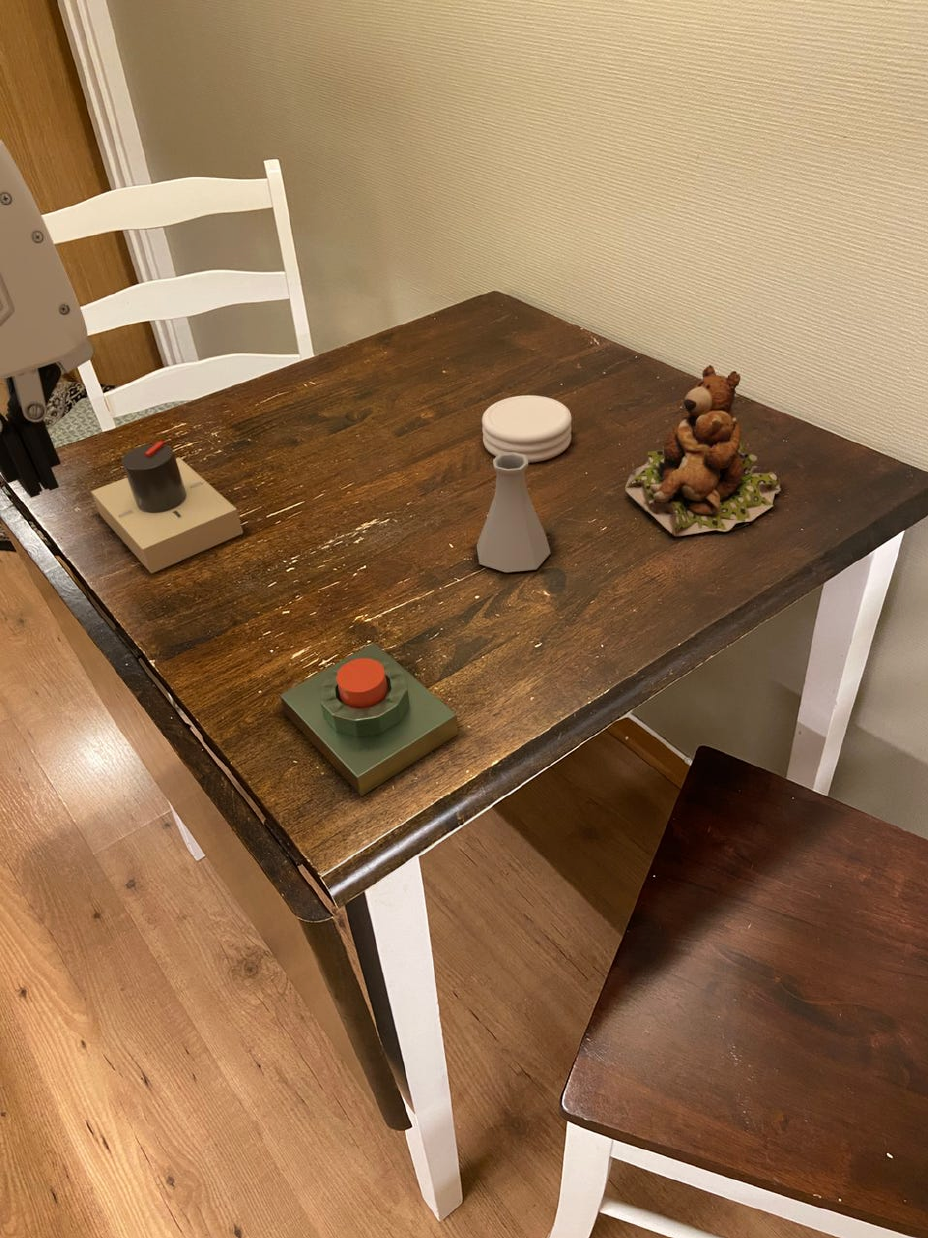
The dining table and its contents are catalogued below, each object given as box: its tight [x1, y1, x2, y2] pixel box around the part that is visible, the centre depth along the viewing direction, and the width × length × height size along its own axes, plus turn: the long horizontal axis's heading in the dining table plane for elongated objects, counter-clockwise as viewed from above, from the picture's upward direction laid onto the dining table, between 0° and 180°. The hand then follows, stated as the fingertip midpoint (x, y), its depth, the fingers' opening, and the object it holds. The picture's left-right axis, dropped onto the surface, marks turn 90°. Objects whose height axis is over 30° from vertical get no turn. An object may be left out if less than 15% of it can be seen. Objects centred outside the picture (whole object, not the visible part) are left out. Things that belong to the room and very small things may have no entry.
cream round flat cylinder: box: [481, 395, 573, 464], centre depth 99 cm, size 10×10×4 cm
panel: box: [90, 457, 244, 574], centre depth 91 cm, size 14×10×3 cm
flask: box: [476, 452, 551, 573], centre depth 81 cm, size 7×7×10 cm
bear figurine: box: [625, 364, 782, 537], centre depth 86 cm, size 14×15×12 cm
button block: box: [279, 642, 460, 797], centre depth 67 cm, size 11×9×4 cm
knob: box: [121, 441, 186, 513], centre depth 88 cm, size 5×5×5 cm
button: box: [337, 658, 388, 708], centre depth 66 cm, size 4×4×2 cm
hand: (37, 483), depth 50 cm, fingers closed
